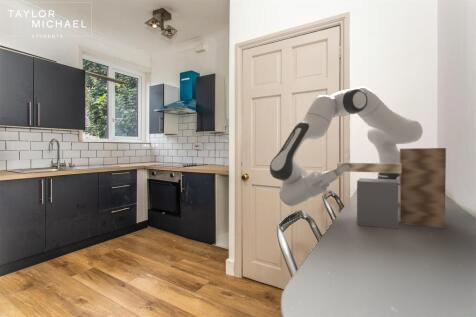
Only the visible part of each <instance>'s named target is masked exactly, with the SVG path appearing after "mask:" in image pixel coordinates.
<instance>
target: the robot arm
mask: <svg viewBox="0 0 476 317" xmlns="http://www.w3.org/2000/svg"><path fill="white" fill-rule="evenodd" d="M355 114H357V115H358V117H360V118H361V120H363V121H364V122H365V124H366V125H367V126H368V127H369V128H368V129H367V133H366V134H367V139H368V141H369V142H370V143H372V145H374V147H375V149H376V151H377V153H378V158H379V163H391V164H400V150H399V149H398V147H397V145H404V144H406V145H407V144H411V143H415V142H418V141H419V140H420V139H421V138H422V136H423V132H424V131H423V127H422V124H421V123H420V122H419V121H417V120H413V119H409V118H407V117H404V116H402V115H400V114H398V113H397V112H394V111H393V110H392V109H390V108H389V107H388V106H387V105H386V104H385V103H384V102H383V101H382V100H381V98H380V97H379V96H378V95H377V94H376V93H374V92H373V91H372V90H371V89H369V88H367V87H366V86H359V87H356V88H350V89H344V90H340V91H337V92H335V93H333V94H329V95H326V94H323V95H322V94H321V95H318V96H317V97H316V98H315V99H314V100H313V101H312V103H311V104H310V106H309V108H308V110H307V112H306V114H305V115H304V118H303V119H302V121H301V122H299V123H297V124H296V125H295V126H294V128H293V129H292V131H291V132H290V134H289V135H288V137H287V138H286V140H285V142H284V144H283V145H282V147H281V148H280V150H279V151H278V152H277V154H276V155H275V156H274V157H273V159H272V160H271V161H270V164H269V173H270V175H271V177H273V178H274V179H277V180H279V181H282V185H281V190H279V194H278V195H279V198H280V199H281V202H283V204H285V205H287V206H289V207H295V206H298V205H300V204H302V203H305V202H307V201H308V200H310V199H311V198H315V197H317V196H319V195H321V194H323V193H325V192H327V191H328V188H329V187H330V185H331V184H332V183H333V182H335V181H337V179H340V178H341V177H343V176H344V175H345V172H347V170H349V169H350V166H349V165H346V166H344V167H341V168H339V169H337V167H334V168H331V169H329V170H326V171H323V172H321V171H315V170H314V171H312V172H311V173H308V174H307V170H306V169H305V168H304V166H302V165H301V164H300V163H298V162H296V161H295V156H296V154H297V152H298V151H299V149H300V147H301V145H302V144H303V143H304V141H305V140H308V139H309V140H310V139H311V140H317V139H320V138H323V137H324V136H325V135H326V133H327V131H328V129H329V127H330V126H331V123H332V121H333V118H335V117H346V116H348V115H355ZM377 179H392V180H397V181H398V205H399V204H400V173H379V172H377Z"/></svg>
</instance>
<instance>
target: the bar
mask: <svg viewBox="0 0 476 317" xmlns="http://www.w3.org/2000/svg"><path fill="white" fill-rule="evenodd" d="M346 165H349V166H350V169H349V170H347V171H346V172H353V173H354V172H355V173H401V164H391V163H380V162H378V163H377V162H375V163H374V162H370V163H368V162H337V163H336V168H337V169H339V168H341V167H344V166H346Z"/></svg>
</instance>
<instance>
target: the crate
mask: <svg viewBox="0 0 476 317" xmlns="http://www.w3.org/2000/svg"><path fill="white" fill-rule="evenodd" d="M356 225H361V226H369V227H376V228H377V227H378V228H383V229H385V228H386V229H391V228H392V229H393V230H399V203H398V181H397V180H392V179H378V178H367V177H365V178H364V177H363V178H361V177H359V178H358V179H357V181H356ZM392 229H391V230H392Z"/></svg>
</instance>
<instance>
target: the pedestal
mask: <svg viewBox="0 0 476 317" xmlns="http://www.w3.org/2000/svg"><path fill="white" fill-rule="evenodd" d="M399 152H400V164H401V173H400V204H399V203H398V218H399V221H400V224H404V225H412V226H419V227H420V226H422V227H430V228H438V229H440V228H441V229H445V228H446V177H447V176H446V173H447V172H446V171H447V170H446V167H447V166H446V164H447V162H446V161H447V148H446V147H437V148H436V147H420V148H419V147H418V148H399Z"/></svg>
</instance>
